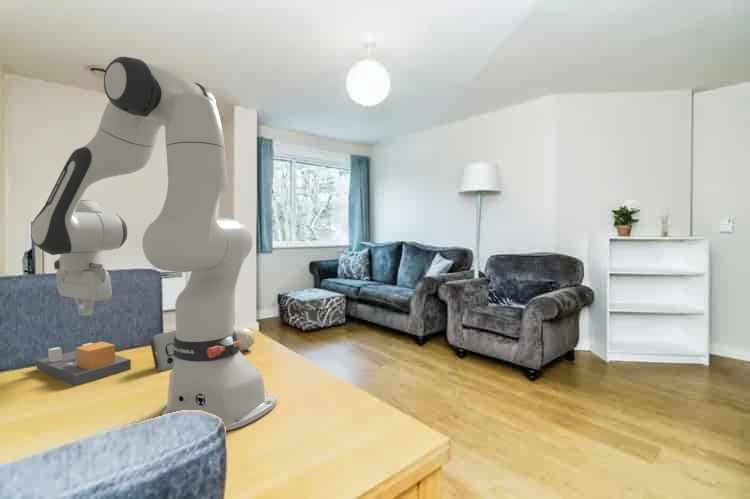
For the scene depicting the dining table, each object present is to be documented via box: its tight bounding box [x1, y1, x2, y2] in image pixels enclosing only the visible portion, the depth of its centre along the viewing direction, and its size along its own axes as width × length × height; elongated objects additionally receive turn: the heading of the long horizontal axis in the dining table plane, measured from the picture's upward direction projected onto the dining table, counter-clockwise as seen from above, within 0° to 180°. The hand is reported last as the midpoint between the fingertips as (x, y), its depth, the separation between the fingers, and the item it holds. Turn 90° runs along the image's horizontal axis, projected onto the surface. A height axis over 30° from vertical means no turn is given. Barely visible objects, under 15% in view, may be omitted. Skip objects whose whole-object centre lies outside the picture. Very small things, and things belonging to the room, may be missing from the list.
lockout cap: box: [75, 341, 116, 370], centre depth 93 cm, size 6×6×4 cm
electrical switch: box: [149, 329, 176, 372], centre depth 100 cm, size 9×5×9 cm, turn 152°
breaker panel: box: [36, 350, 132, 387], centre depth 96 cm, size 20×12×3 cm, turn 62°
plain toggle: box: [47, 346, 63, 362], centre depth 94 cm, size 2×2×3 cm
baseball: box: [233, 327, 256, 352], centre depth 112 cm, size 7×7×7 cm
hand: (85, 315), depth 98 cm, fingers closed
